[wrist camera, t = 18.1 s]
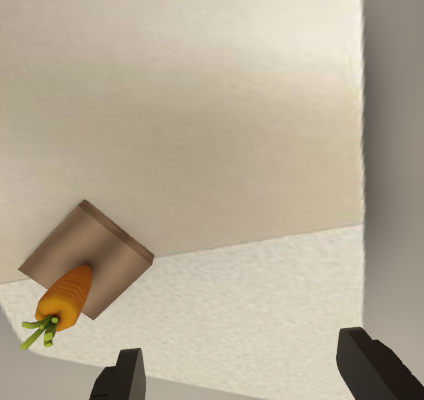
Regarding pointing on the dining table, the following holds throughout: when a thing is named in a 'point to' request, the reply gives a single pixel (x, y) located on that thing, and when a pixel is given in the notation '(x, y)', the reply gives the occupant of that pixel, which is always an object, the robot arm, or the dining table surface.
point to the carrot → (60, 305)
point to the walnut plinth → (90, 257)
